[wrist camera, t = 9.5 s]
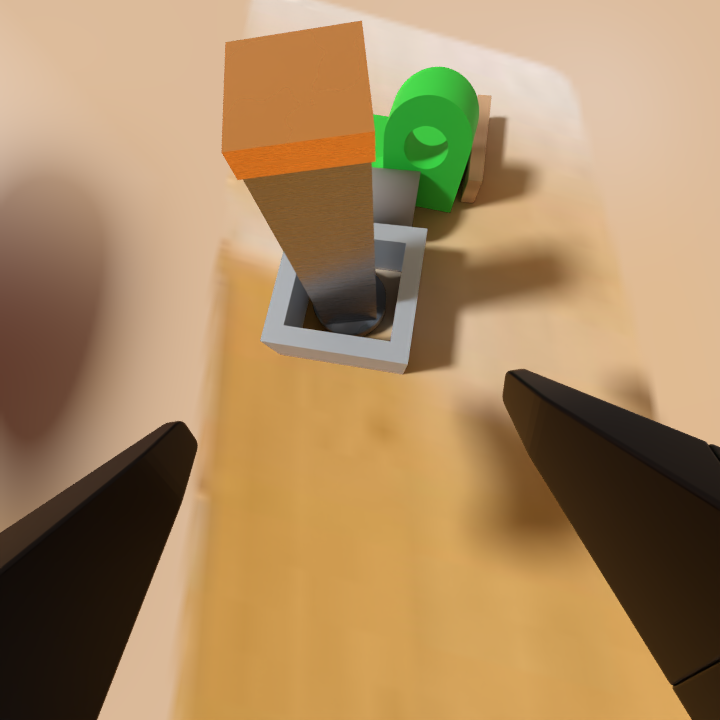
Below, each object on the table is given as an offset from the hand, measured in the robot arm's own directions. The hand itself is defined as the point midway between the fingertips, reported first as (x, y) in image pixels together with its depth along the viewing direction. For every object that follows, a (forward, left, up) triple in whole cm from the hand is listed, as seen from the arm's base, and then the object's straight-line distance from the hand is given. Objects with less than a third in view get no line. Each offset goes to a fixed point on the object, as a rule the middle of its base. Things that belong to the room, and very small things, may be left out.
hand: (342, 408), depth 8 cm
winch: (+10, +2, -12) cm, 16 cm away
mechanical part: (+20, +2, -12) cm, 24 cm away
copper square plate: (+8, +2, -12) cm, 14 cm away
